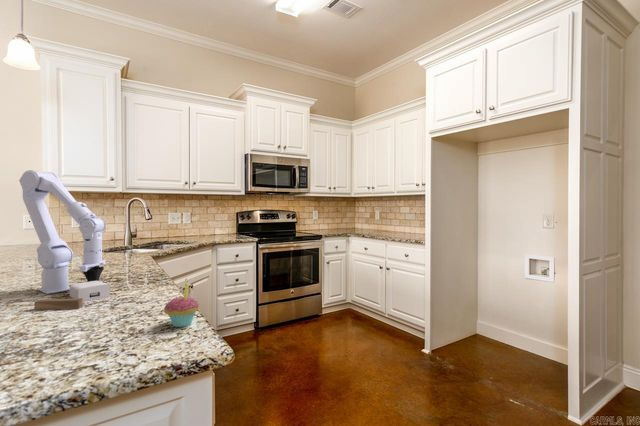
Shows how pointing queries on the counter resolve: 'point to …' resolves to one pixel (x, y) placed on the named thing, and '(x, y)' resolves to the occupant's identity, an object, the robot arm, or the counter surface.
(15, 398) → the counter surface
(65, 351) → the counter surface
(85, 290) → the charger
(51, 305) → the bar
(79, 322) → the counter surface
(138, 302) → the counter surface
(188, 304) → the cupcake
